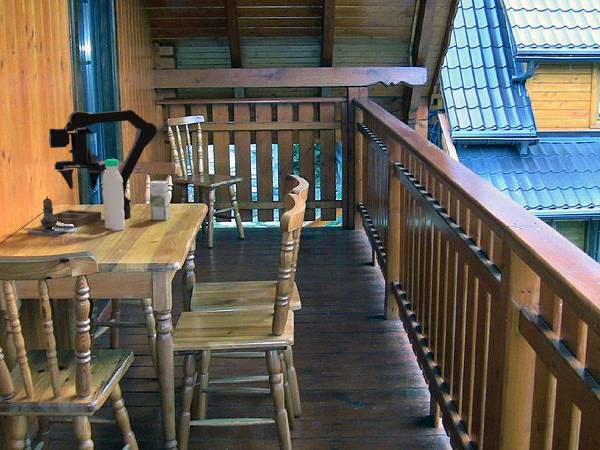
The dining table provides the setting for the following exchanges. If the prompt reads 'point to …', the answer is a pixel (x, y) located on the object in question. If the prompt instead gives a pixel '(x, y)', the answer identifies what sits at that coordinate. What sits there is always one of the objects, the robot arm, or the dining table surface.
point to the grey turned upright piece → (48, 216)
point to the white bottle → (113, 196)
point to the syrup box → (159, 200)
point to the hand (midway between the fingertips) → (82, 189)
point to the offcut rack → (77, 217)
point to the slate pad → (45, 233)
